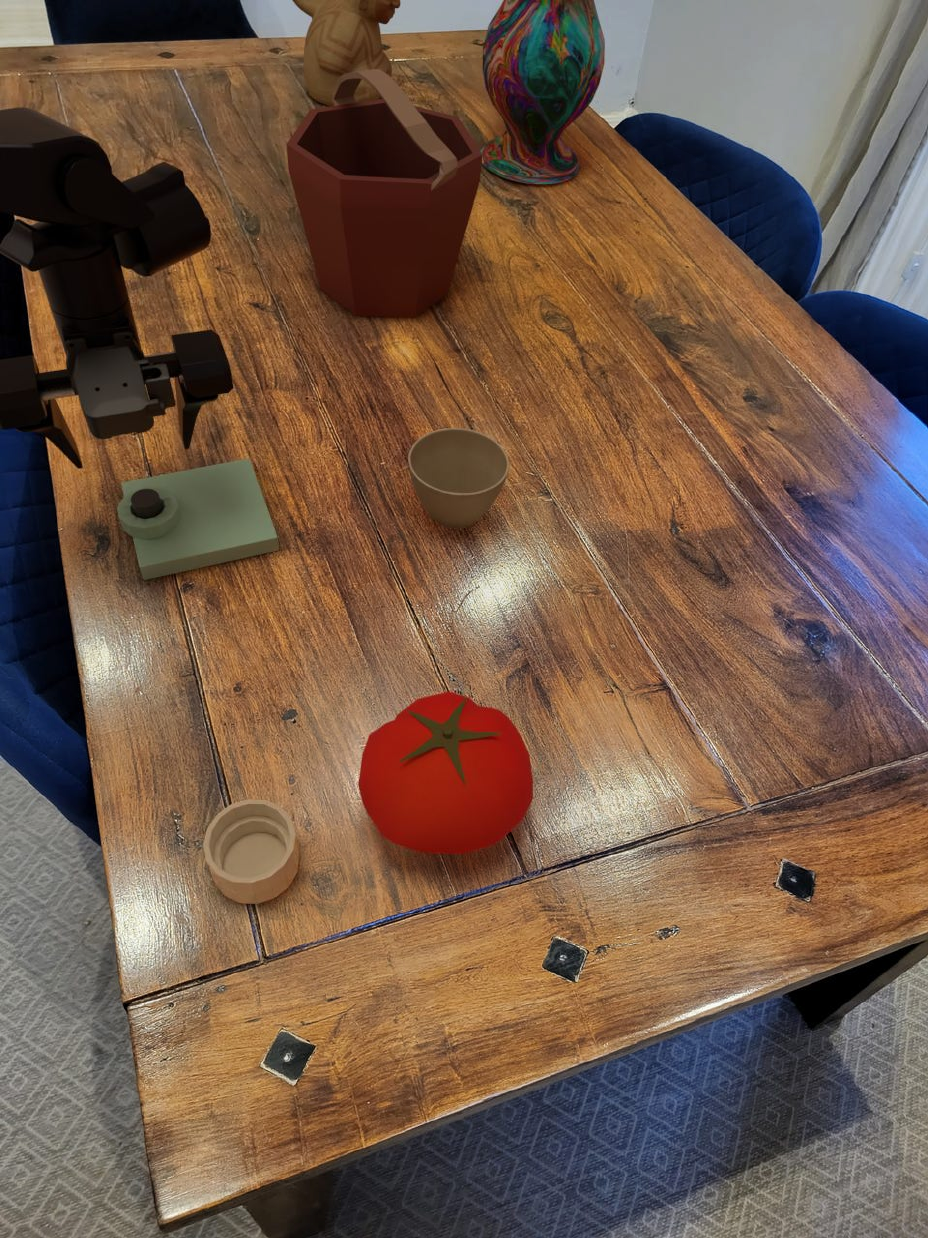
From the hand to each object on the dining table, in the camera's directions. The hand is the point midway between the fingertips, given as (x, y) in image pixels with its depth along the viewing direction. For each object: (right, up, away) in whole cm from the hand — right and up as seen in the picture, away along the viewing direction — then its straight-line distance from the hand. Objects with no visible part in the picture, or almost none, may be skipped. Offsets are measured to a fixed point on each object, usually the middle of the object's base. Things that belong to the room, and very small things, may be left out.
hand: (134, 455), depth 79 cm
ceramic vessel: (+9, +78, +76) cm, 109 cm away
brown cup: (+29, -4, +13) cm, 32 cm away
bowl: (+14, -33, -12) cm, 38 cm away
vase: (+40, +60, +65) cm, 97 cm away
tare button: (-1, -4, +6) cm, 7 cm away
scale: (+3, -5, +9) cm, 11 cm away
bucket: (+18, +30, +39) cm, 52 cm away
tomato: (+28, -30, -8) cm, 41 cm away
